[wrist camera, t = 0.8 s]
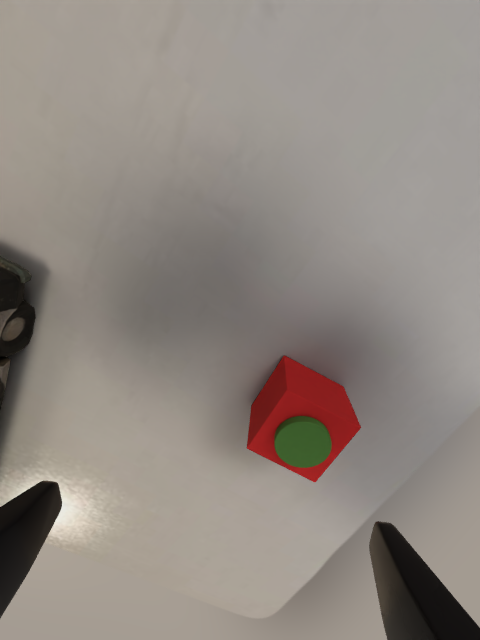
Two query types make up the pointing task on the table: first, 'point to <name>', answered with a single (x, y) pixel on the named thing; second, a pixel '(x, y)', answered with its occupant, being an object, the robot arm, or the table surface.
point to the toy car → (13, 316)
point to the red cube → (301, 420)
